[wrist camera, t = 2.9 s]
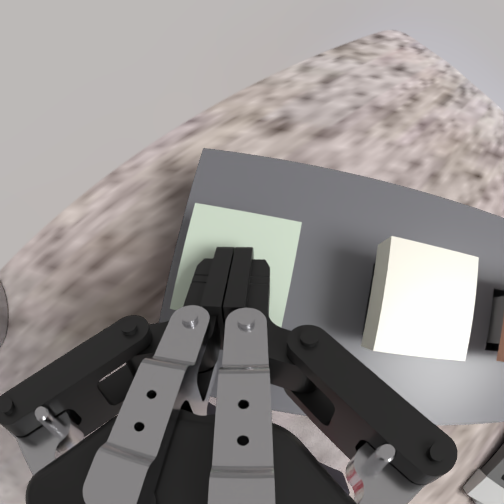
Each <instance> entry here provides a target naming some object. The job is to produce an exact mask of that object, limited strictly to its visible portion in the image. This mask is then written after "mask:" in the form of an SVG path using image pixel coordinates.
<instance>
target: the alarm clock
mask: <svg viewBox="0 0 504 504" xmlns="http://www.w3.org/2000/svg"><path fill="white" fill-rule="evenodd" d="M463 489H464V490H465V492H466V494H467V495H469V496H470V497H472V500H473V501H474V503H475V504H504V443H503V445H502V446H501V447H500V449H499V450H498V451H497V452H496V453H495V455H494V456H493V457H492V458H491V459H490V460H489V461H488V462H487V464H486V465H485V466H484V467H483V468H482V469H481V470H480V469H479V468H478V470H477V471H476V472H475V473H474V475H473V476H472V477H471V478H470V479H469V480H468V482H467V483H466V484H465V485H464V486H463Z"/></svg>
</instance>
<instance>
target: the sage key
mask: <svg viewBox="0 0 504 504" xmlns="http://www.w3.org/2000/svg"><path fill="white" fill-rule="evenodd" d="M301 225H302V222H298V221H293V220H288V219H282V218H277V217H272V216H267V215H261V214H256V213H250V212H245V211H239V210H234V209H228V208H222V207H216V206H211V205H205V204H199V203H195V206H194V209H193V213H192V217H191V221H190V225H189V228H188V232H187V236H186V240H185V244H184V248H183V253H182V257H181V261H180V265H179V269H178V274H177V278H176V282H175V287H174V291H173V296H172V300H171V305H170V309H173V310H178V309H179V308H182V307H183V305H184V302H185V299H186V296H187V293H188V290H189V287H190V284H191V283H192V278H193V276H194V273H195V270H196V267H197V265H198V264H199V263H200V262H201V261H202V260H203V259H204V258H214V254H215V251H216V248H217V247H253V250H254V259H265V260H266V261H267V263H268V265H269V266H270V302H269V318H270V319H271V321H272V322H273V323H274V324H276V325H277V326H279V327H282V322H283V317H284V312H285V308H286V303H287V298H288V293H289V288H290V283H291V278H292V273H293V268H294V262H295V257H296V252H297V247H298V241H299V236H300V230H301Z"/></svg>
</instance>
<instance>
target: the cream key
mask: <svg viewBox="0 0 504 504" xmlns="http://www.w3.org/2000/svg"><path fill="white" fill-rule="evenodd" d="M478 261H479V257H476V256H472V255H468V254H464V253H460V252H456V251H452V250H448V249H444V248H440V247H436V246H432V245H428V244H424V243H420V242H416V241H412V240H407V239H403V238H399V237H394V236H391V237H389V238H388V239H386V240H385V241H383V242H382V243H380V244H379V245H378V247H377V255H376V263H375V270H374V276H373V278H372V285H371V291H370V297H369V302H368V308H367V314H366V319H365V324H364V326H365V328H364V333H363V338H362V343H361V346H362V347H364V348H367V349H370V350H372V351H378V352H385V353H393V354H401V355H409V356H417V357H427V358H436V359H447V360H458V361H465V359H466V354H467V349H468V344H469V338H470V333H471V326H472V320H473V313H474V305H475V297H476V287H477V276H478Z"/></svg>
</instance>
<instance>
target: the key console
mask: <svg viewBox="0 0 504 504" xmlns="http://www.w3.org/2000/svg"><path fill="white" fill-rule="evenodd" d="M195 203H199V204H205V205H211V206H216V207H222V208H228V209H234V210H239V211H245V212H250V213H256V214H261V215H267V216H272V217H277V218H282V219H288V220H293V221H298V222H302V225H301V230H300V236H299V241H298V247H297V252H296V257H295V262H294V268H293V273H292V278H291V283H290V288H289V293H288V298H287V303H286V308H285V312H284V317H283V322H282V327H281V328H284V329H287V330H291V331H292V330H293V329H294V328H296V327H298V326H301V325H314V326H318V327H320V328H322V329H323V330H325V331H326V332H327V333H328V334H329V335H330V336H332V337H333V338H334V339H335V340H336V341H337V342H339V343H340V344H341V345H342V346H343V347H344V348H345V349H347V350H348V351H349V352H350V353H351V354H352V355H354V356H355V357H356V358H357V359H358V360H359V361H361V362H362V363H363V364H364V365H365V366H366V367H368V368H369V369H370V370H371V371H372V372H373V373H375V374H376V375H377V376H378V377H379V378H380V379H382V380H383V381H384V382H385V383H386V384H388V385H389V386H390V387H391V388H392V389H393V390H395V391H396V392H397V393H398V394H399V395H400V396H402V397H403V398H404V399H405V400H406V401H408V402H409V403H410V404H411V405H412V406H413V407H415V408H416V409H417V410H418V411H419V412H421V413H422V414H423V415H424V416H425V417H426V418H428V419H429V420H430V421H431V422H432V423H434V424H435V425H466V424H483V423H495V422H504V362H501V361H496V359H497V354H498V349H499V344H497V343H487V337H488V330H489V324H490V317H491V309H492V300H493V297H501V296H504V218H502V217H500V216H497V215H494V214H491V213H488V212H485V211H482V210H480V209H477V208H474V207H471V206H468V205H464V204H461V203H458V202H455V201H452V200H449V199H445V198H442V197H439V196H435V195H432V194H429V193H425V192H422V191H418V190H415V189H411V188H407V187H404V186H400V185H396V184H392V183H388V182H384V181H380V180H376V179H372V178H368V177H364V176H360V175H355V174H351V173H347V172H342V171H337V170H333V169H328V168H323V167H318V166H313V165H308V164H303V163H298V162H292V161H287V160H281V159H275V158H269V157H263V156H257V155H251V154H244V153H237V152H230V151H223V150H215V149H207V148H203V151H202V154H201V157H200V160H199V164H198V167H197V171H196V174H195V177H194V181H193V184H192V188H191V191H190V195H189V199H188V202H187V206H186V210H185V213H184V217H183V221H182V225H181V228H180V232H179V236H178V240H177V244H176V248H175V252H174V256H173V261H172V265H171V269H170V273H169V278H168V282H167V286H166V291H165V295H164V300H163V305H162V309H161V314H160V319H159V323H162V322H166V321H169V320H170V318H171V316H172V315H173V313H174V312H175V311H176V310H173V309H170V305H171V300H172V296H173V291H174V287H175V282H176V278H177V274H178V269H179V265H180V261H181V257H182V253H183V248H184V244H185V240H186V236H187V232H188V228H189V225H190V221H191V217H192V213H193V209H194V206H195ZM391 236H394V237H399V238H403V239H407V240H412V241H416V242H420V243H424V244H428V245H432V246H436V247H440V248H444V249H448V250H452V251H456V252H460V253H464V254H468V255H472V256H476V257H479V261H478V276H477V287H476V297H475V305H474V313H473V320H472V326H471V333H470V338H469V344H468V349H467V354H466V359H465V361H458V360H447V359H436V358H427V357H417V356H409V355H401V354H393V353H385V352H378V351H372V350H370V349H367V348H364V347H362V346H361V343H362V338H363V333H364V328H365V326H364V324H365V319H366V314H367V308H368V302H369V297H370V291H371V285H372V278H373V276H374V270H375V263H376V255H377V247H378V245H379V244H380V243H382V242H383V241H385V240H386V239H388V238H389V237H391ZM222 360H223V350H219V356H218V360H217V361H218V368H217V372H216V376H215V379H214V383H213V387H212V390H211V394H210V396H211V397H215V398H217V387H218V374H219V369H220V368H222ZM270 389H271V410H274V411H280V412H285V413H291V414H297V415H304V416H307V415H306V414H305V413H304V412H303V411H302V410H301V409H300V408H299V407H298V406H297V405H296V404H295V403H294V402H293V400H292V399H291V398H290V397H289V396H288V395H287V394H286V393H285V391H284V388H282V387H279V386H276V385H272V384H270Z"/></svg>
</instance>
